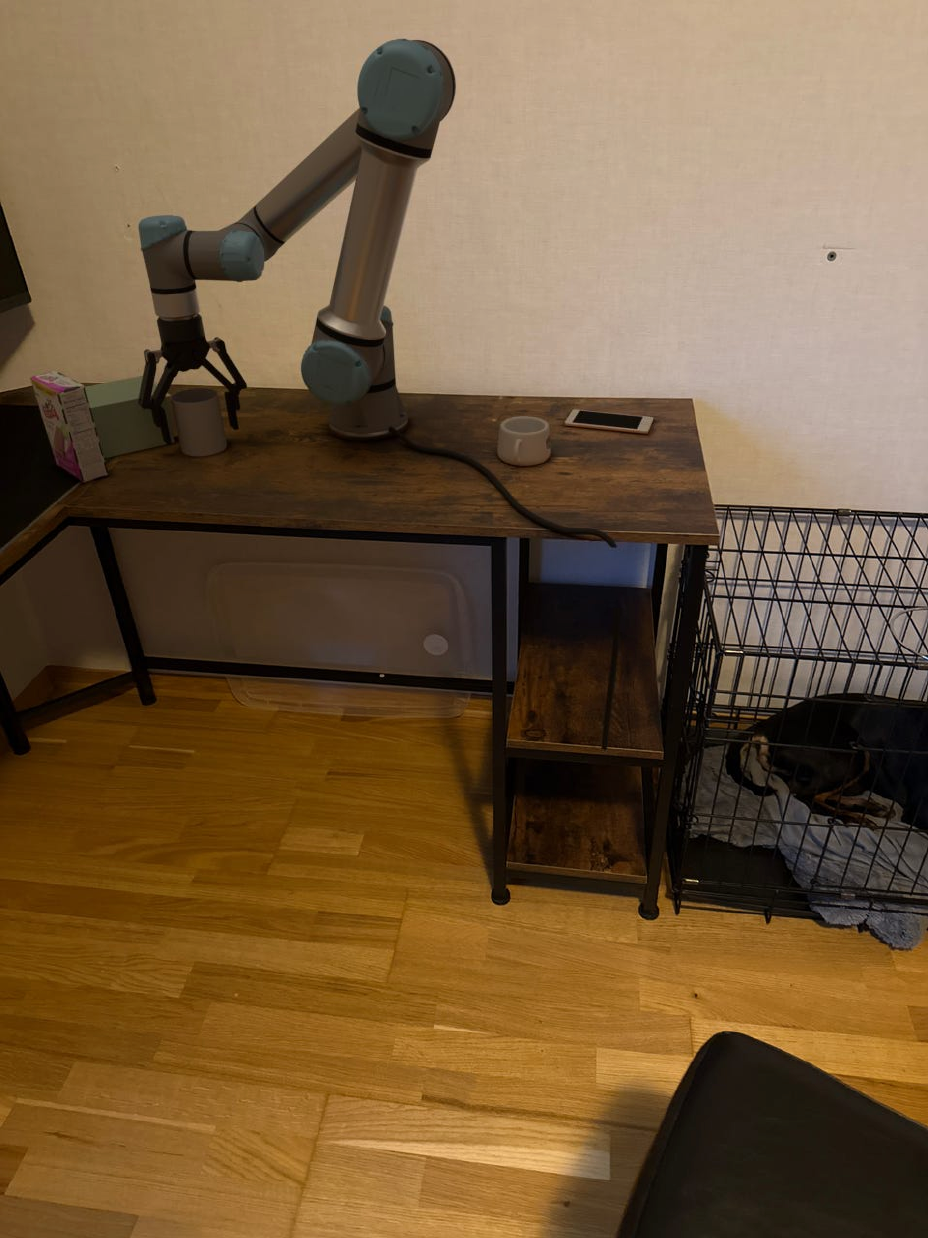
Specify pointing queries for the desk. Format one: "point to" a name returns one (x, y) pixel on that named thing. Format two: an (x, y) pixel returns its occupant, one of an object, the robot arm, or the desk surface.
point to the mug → (524, 441)
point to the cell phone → (609, 421)
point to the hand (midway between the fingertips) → (201, 435)
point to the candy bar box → (69, 425)
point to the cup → (199, 421)
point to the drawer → (170, 413)
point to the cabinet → (124, 417)
